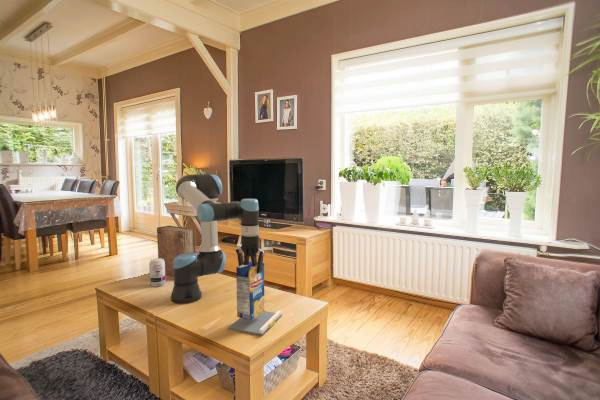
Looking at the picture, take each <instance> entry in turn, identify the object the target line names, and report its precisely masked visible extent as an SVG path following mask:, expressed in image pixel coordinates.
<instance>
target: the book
mask: <svg viewBox="0 0 600 400" xmlns="http://www.w3.org/2000/svg"><path fill="white" fill-rule="evenodd" d="M156 234H157V235H156V241H157V258H162V259H164V261H165V276H168V277H169V276H170V277H172V278H174V268H173V264H174V258H175V257H176V256H178V255H180V254H183V253H188V252H189V253H190V252H195V253H197V252H196V229H195V228H190V227H183V226H175V225H164V226H159V227H157V228H156Z"/></svg>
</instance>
